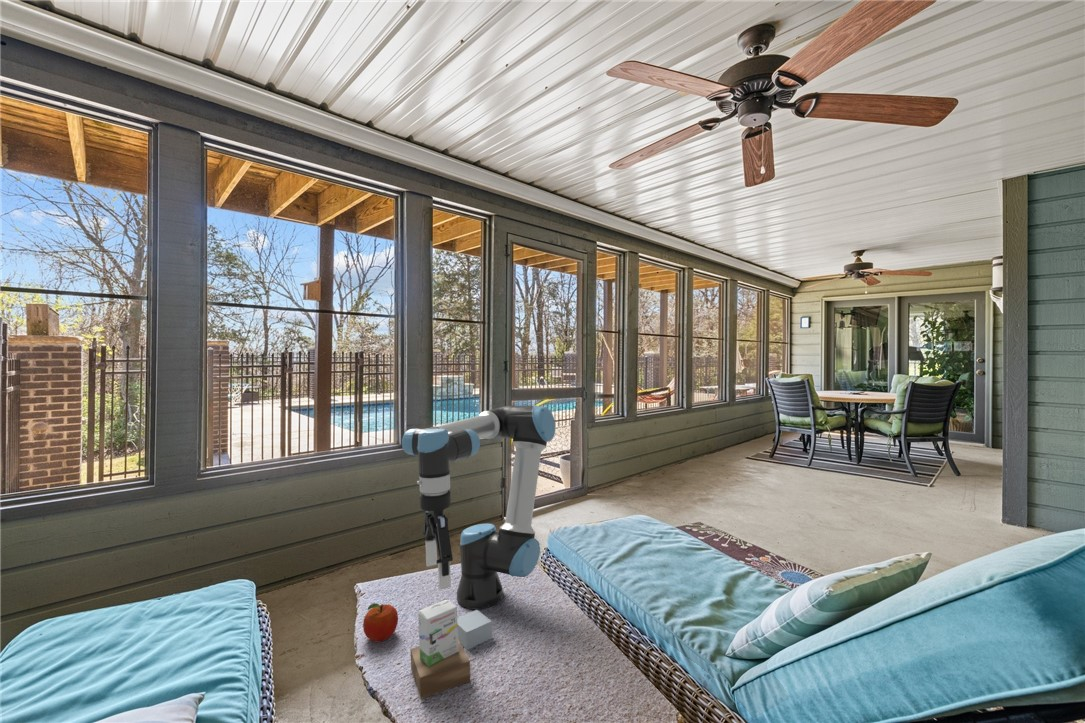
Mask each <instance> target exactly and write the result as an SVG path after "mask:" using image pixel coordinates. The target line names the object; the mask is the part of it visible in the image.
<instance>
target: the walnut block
mask: <svg viewBox="0 0 1085 723" xmlns="http://www.w3.org/2000/svg"><path fill="white" fill-rule="evenodd" d="M409 651H410V670H411V672H412V676H413V679H414V682H415V686H416V689H417V691H418V692H417V693H418V694H419V698H420V699H421V700H422V699H425V698H427V697H431V696H434V695H436V694H439V693H442V692H444V691H447V690H450V689H453V688H455V687H458V686H461V685H463V684H467V683H470V682H471V660H470V659H469V657H468V655H467V653H466V651H465V649H464V647H463V646H462V645H461V643H460V641H459V640H458V652H457V653H455V654H453V655H451V656H449V657H447V658H445V659H443V660H441V661H439V662H437V663H435V664H433V665H431V666H427V665H426V664H425V663H424V662H423V661H422V660H421V659H420V648H419V646H416V647H412V648H410V650H409Z"/></svg>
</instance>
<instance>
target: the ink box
mask: <svg viewBox="0 0 1085 723" xmlns="http://www.w3.org/2000/svg"><path fill="white" fill-rule="evenodd" d="M417 614H418V615H417V616H418V617H417V618H418V619H417V620H418V640H419V641H418V642H419V643H418V644H419V646H418V647H419V648H420V659H421V660H422V661H423V662H424V663H425V664H426V665H427V666H431V665H433V664H435V663H437V662H439V661H441V660H443V659H445V658H447V657H449V656H451V655H453V654H455V653H457V652H458V622H457V618H458V606H457V605H456V604H454V603H453V602H452V601H451V600H449V599H445V600H442V601H439V602H437V603H434V604H432V605H429V606H427V607H424V608H421V609H420V611H418V613H417Z"/></svg>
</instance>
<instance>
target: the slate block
mask: <svg viewBox="0 0 1085 723" xmlns="http://www.w3.org/2000/svg"><path fill="white" fill-rule="evenodd" d="M457 622H458V640H459V641H460V643H461V645H462V647H463V649H464V648H465V650H470V649H473V648H474V647H476V645H477V646H478V644H479V645H481V644H483V643H485V642H487V641H489V640H491V639H493V626H492V625H493V624H492V620H491V619H489V618H488V617H487V616H485V615H484V614H483V613H482V612H481V611H480V610H479V609H474V610H473V611H471V612H468V613H465V614H463V615H461V616H459V617H458V616H457ZM490 638H491V639H490ZM488 639H489V640H488ZM484 641H485V642H484ZM482 642H483V643H482Z"/></svg>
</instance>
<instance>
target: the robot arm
mask: <svg viewBox="0 0 1085 723" xmlns="http://www.w3.org/2000/svg"><path fill="white" fill-rule="evenodd" d="M555 420H556V419H555V417H554V415H553V412H552V411H551V410H550V409H549V408H548V407H547V406H546V407H545V406H541V405H540V406H539V405H505V406H500V407H496V408H491V409H489V410H484V411H482V412H481V413H479V414H478V415H476V416H472V417H468V418H464V419H461V420H456V421H451V422H448V423H444V424H439V425H435V426H431V427H426V428H419V427H418V428H410V429H408V430H406V431H405V432H404V434H403V436H402V439H401V447H402V449H403V451H404V453H405V454H407V455H409V456H410V455H411V456H414V457H417V458H418V475H419V476H418V479H419V480H417V481H416V484H417V485H419V492H420V494H419V508H420V509H421V510H422V511H424V520H423V521H424V522H423V532H422V535H423V536H424V539H425V542H424V543H425V561H426V562H425V563H426V564H425V566H426V567H433V566H436V565H437V572H438V574H437V575H438V590H440V591H441V590H444V589H448V588H451V587H452V586H451V585H452V584H451V583H452V582H451V581H452V580H451V562H452V561H453V560H454V557H453V553H452V552H453V551H452V544H451V538H450V532H449V519H448V516H446V514H444V510H445V509H448V508H450V506H451V504H452V503H451V501H452V497H451V491H450V489H451V472H450V468H451V467H450V464H452V463H454V462H458V461H461V460H462V461H463V460H464V459H468V458H471V457H472V456H474V455H476V454H477V453H478V452H479V450H480V447H481V440H482V439H488V440H490V439H495V438H497V439H498V438H499V439H500V438H501V439H502V438H503V439H512V444H513V446H514V447H515V454H514V459H513V460H514V461H513V466H512V467H513V468H512V472H511V479H510V488H509V494H508V498H507V500H508V501H507V508H506V513H505V518H504V519H505V520H504V523H503V524H502V525H500V526H499V528H498V531H497V528H496V525H494V523H479V524H475V525H471V526H469V527H467V528H465V529H464V530H462V532H461V534H460V543H459V547H460V548H459V549H460V568H461V576H460V580H459V583H458V586H457V590H456V601H457V604H458V605H460V606H462V607H463V608H466V609H472V610H480V609H481V610H482V609H485V608H490V607H492V606H494V605H496V604H498V603H500V601H501V600H502V599H503V596H504V592H503V591H504V589H503V585H502V581H501V580H500V577H499V574H498V573H501V574H504V575H508V576H511V577H517V578H526V577H528V576H529V575H531V573H532V572H533V571H534V570H535V568H536V566H537V564H538V561H539V559H540V558H539V557H540V554H541V547H540V542H539V540H537V538H535V537H536V536H535V535H536V531H535V530H534V528H533V527H532V525H533V524H532V523H533V518H534V517H533V514H534V508H535V502H536V500H535V499H536V494H537V486H538V485H537V484H538V478H539V469H540V463H541V455H542V452H543V451H544V450H545V449H547V444H548V443H549V442H551V441H552V440H553V439H554V437H555V435H556V421H555Z"/></svg>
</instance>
